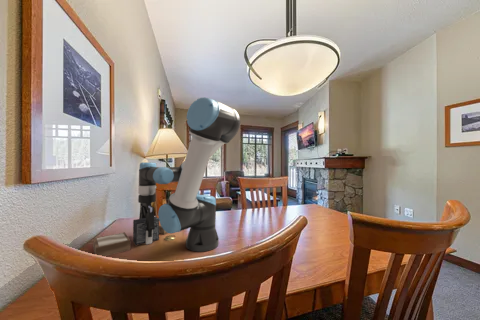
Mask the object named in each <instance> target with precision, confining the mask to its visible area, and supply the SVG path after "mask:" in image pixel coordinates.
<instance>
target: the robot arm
mask: <svg viewBox="0 0 480 320" xmlns="http://www.w3.org/2000/svg"><path fill="white" fill-rule="evenodd" d="M186 120H187V121H186V122H187V126H188V127H189V131H188V132H189V134H190V135H191V139H190V142H189V146H188V148H187V149H188V150H187V153H186V156H185V159H184V161H182V163H181V164H180V165H179V166H157V163H156V162H145V161H143V162H140V163H139V168H138V191H137V193H138V194H139V195H138V199H137V201H138V203H139V205H140V206H139V207H140V208H139V217H138V219H143V218H146V225H147V229H146V230H145V231H146V243H145V245H150V244H153V241H152V238H153V229H155V226H154V217H155V207H153V205H152V204H153V203H155V202H156V198H157V197H156V191H157V190H156V189H157V187H158V186H156V185H157V184H159V185H168V184H171V183H177V185H176V188H175V192H173V193H172V194H170V196H169V198H168V201H167V203H163V204H162V205H160V206H159V209H158V212H157V213H158V214H157V215H158V218H159V225H161V226H162V228H163V229H164V230H165V231H166V232H167V233H168V234H175V233H180V232H182V231H185V230H187V229H189V231H188V234H187V237H186V240H185V247H186V249H188V250H189V251H193V252H197V253H198V252H200V253H201V252H209V251H211V250H214V249H216V248H217V247H218V246H219V244H220V243H219V240H220V239H219V236H218V232H217V229H216V220H217V219H216V216H217V215H216V213H217V200H216V197H215V196H213V195H209V194H208V195H207V194H199V191H200V188H201V185H202V181H203V179H204V176H205V173H206V171H207V167H208V164H209V162H210V158H211V157H212V156H213V155H214V154H215V153H216V152H217V151H218V150H219V149H221V147H222V146H224V144H227V145H228V143H230V142H231V141H232V140H233V139H234V137H236V135H237V134H238V132H239V130H240V127H241V117H240V114H239V113H238V112H237V110H236V109H235V108H234V107H231V106H229V105H226V104H224V103H222V102H220V101H217V100H216V99H213V98H210V97H209V98H208V97H198V98H197V99H196V100H194V101H193V102H192V103H191V104H190V106H189V108H188V110H187V112H186Z"/></svg>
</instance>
